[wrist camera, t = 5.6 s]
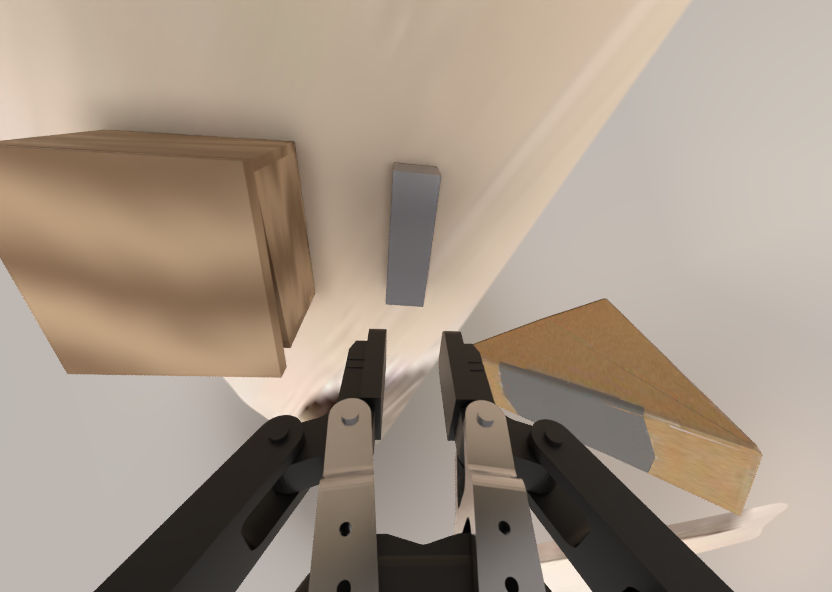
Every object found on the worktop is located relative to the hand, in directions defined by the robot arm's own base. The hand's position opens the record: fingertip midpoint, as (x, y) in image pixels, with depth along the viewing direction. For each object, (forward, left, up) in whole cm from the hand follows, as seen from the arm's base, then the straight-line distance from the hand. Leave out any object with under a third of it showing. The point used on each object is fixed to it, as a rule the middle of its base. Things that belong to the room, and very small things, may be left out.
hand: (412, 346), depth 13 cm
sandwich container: (+12, +14, -14) cm, 23 cm away
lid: (0, -14, -5) cm, 15 cm away
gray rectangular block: (0, 0, -13) cm, 13 cm away
